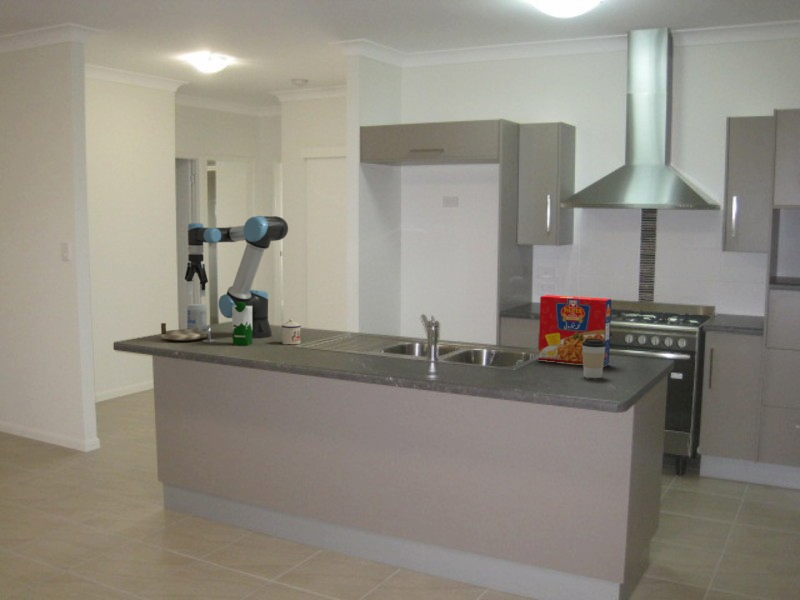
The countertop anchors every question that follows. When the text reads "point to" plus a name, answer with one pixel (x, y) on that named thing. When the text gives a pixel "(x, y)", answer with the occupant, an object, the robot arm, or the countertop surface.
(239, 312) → the milk carton
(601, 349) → the coffee cup
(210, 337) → the dial pointer stand
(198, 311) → the supplement tub
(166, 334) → the lazy susan platter
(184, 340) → the turntable base
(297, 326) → the teacup with lid
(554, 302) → the pasta box
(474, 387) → the countertop surface
